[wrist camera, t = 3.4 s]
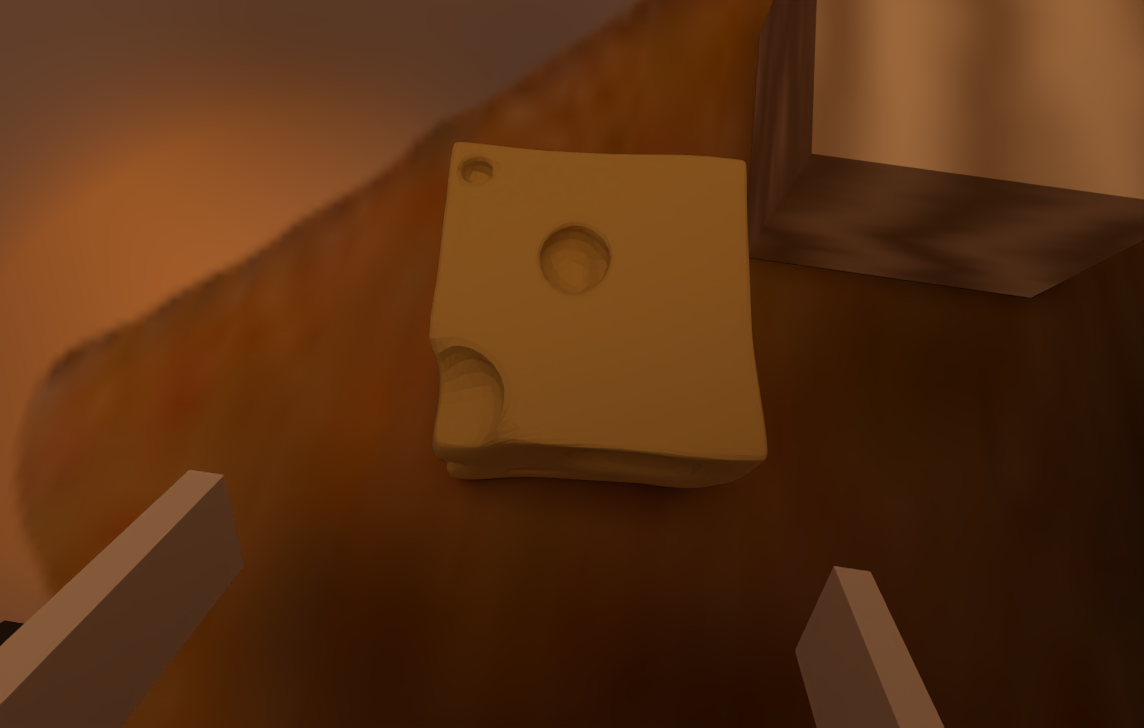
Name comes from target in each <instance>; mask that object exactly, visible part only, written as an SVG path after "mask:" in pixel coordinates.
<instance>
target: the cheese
mask: <svg viewBox="0 0 1144 728" xmlns="http://www.w3.org/2000/svg"><path fill="white" fill-rule="evenodd" d="M429 338H430V342H431V345H432V349H433V352H434V355H435V357H436V360H437V362H438V368H439V375H440V390H439V402H438V409H437V415H436V420H435V426H434V432H433V441H432V449H433V452H434V454H435V455H436V456H437V457H438V458H439V459H441V460H443V461H447V471H448V474H449V475H450V476H452V477H454V478H458V479H490V478H506V477H547V478H562V479H578V480H595V481H611V482H628V483H641V484H649V485H656V486H664V487H675V488H700V487H707V486H714V485H721V484H726V483H730V482H733V481H735V480H738V479H740V478H742V477H744V476H745V475H746V474H748V473H749V472H751V471H752V470H754V469H755V468H756V467H758V466H759V465H760V464H761V462H763V461H764V460H765V458H766V456H767V440H766V431H765V423H764V415H763V408H762V402H761V395H760V389H759V382H758V376H757V369H756V362H755V355H754V347H753V338H752V324H751V301H750V274H749V248H748V223H747V178H746V163H745V161H743V160H738V159H726V158H719V157H709V156H692V155H635V154H594V153H571V152H555V151H541V150H531V149H521V148H512V147H503V146H495V145H486V144H477V143H465V142H457V143H455V144H454V146H453V149H452V156H451V163H450V170H449V178H448V188H447V198H446V206H445V214H444V222H443V230H442V239H441V248H440V257H439V266H438V274H437V281H436V287H435V292H434V298H433V304H432V311H431V318H430V336H429Z"/></svg>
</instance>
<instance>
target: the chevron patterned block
mask: <svg viewBox="0 0 1144 728" xmlns="http://www.w3.org/2000/svg"><path fill="white" fill-rule="evenodd" d="M747 223H748V248H749V258H755V259H762V260H769V261H776V262H783V263H790V264H797V265H804V266H811V267H818V268H825V269H832V270H839V271H847V272H854V273H861V274H868V275H875V276H882V277H889V278H896V279H903V280H910V281H917V282H924V283H931V284H938V285H945V286H952V287H959V288H966V289H973V290H980V291H987V292H994V293H1001V294H1008V295H1015V296H1022V297H1029V298H1031V297H1033V296H1035V295H1037V294H1039V293H1041V292H1043V291H1045V290H1047V289H1049V288H1051V287H1053V286H1055V285H1057V284H1059V283H1061V282H1063V281H1065V280H1067V279H1068V278H1070V277H1072V276H1074V275H1076V274H1078V273H1080V272H1082V271H1084V270H1086V269H1088V268H1090V267H1092V266H1094V265H1096V264H1098V263H1100V262H1102V261H1104V260H1106V259H1107V258H1109V257H1111V256H1113V255H1115V254H1117V253H1119V252H1121V251H1123V250H1125V249H1127V248H1129V247H1131V246H1133V245H1135V244H1137V243H1139V242H1141V241H1143V240H1144V0H773V2H772V5H771V7H770V10H769V12H768V15H767V17H766V20H765V23H764V25H763V28H762V30H761V33H760V37H759V52H758V66H757V81H756V95H755V110H754V124H753V139H752V153H751V168H750V182H749V197H748V211H747Z"/></svg>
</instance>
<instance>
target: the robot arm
mask: <svg viewBox="0 0 1144 728" xmlns="http://www.w3.org/2000/svg"><path fill="white" fill-rule="evenodd" d="M242 568H243V562H242V557H241V553H240V548H239V543H238V538H237V534H236V529H235V524H234V519H233V515H232V510H231V505H230V501H229V496H228V491H227V486H226V482H225V477H224V475H220V474H214V473H207V472H200V471H194V470H189V471H188V472H187V473H185V474H184V475H183V476H182V477H181V478H180V479H179V480H178V481H177V482H176V483H175V484H174V485H173V486H172V487H170V488H169V489H168V490H167V491H166V492H165V493H164V494H163V495H162V496H161V497H160V498H159V499H158V500H157V501H155V502H154V503H153V504H152V505H151V506H150V507H149V508H148V509H147V510H146V511H145V512H144V513H143V514H141V515H140V516H139V517H138V518H137V519H136V520H135V521H134V522H133V523H132V524H131V525H130V526H129V527H128V528H126V529H125V530H124V531H123V532H122V533H121V534H120V535H119V536H118V537H117V538H116V539H115V540H114V541H113V542H111V543H110V544H109V545H108V546H107V547H106V548H105V549H104V550H103V551H102V552H101V553H100V554H99V555H98V556H96V557H95V558H94V559H93V560H92V561H91V562H90V563H89V564H88V565H87V566H86V567H85V568H84V569H82V570H81V571H80V572H79V573H78V574H77V575H76V576H75V577H74V578H73V579H72V580H71V581H70V582H69V583H67V584H66V585H65V586H64V587H63V588H62V589H61V590H60V591H59V592H58V593H57V594H56V595H55V596H54V597H52V598H51V599H50V600H49V601H48V602H47V603H46V604H45V605H44V606H43V607H42V608H41V609H40V610H39V611H37V612H36V613H35V614H34V615H33V616H32V617H31V618H30V619H29V620H28V621H27V622H26V623H25V624H23V623H17V622H10V621H3V622H1V623H0V728H121V726H122V725H123V724H124V723H125V721H126V720H127V719H128V717H129V716H130V715H131V713H132V712H133V711H134V709H135V708H136V707H137V705H138V704H139V703H140V702H141V700H142V699H143V698H144V696H145V695H146V694H147V692H148V691H149V690H150V688H151V687H152V686H153V684H154V683H155V682H156V680H157V679H158V678H159V677H160V675H161V674H162V673H163V671H164V670H165V669H166V667H167V666H168V665H169V663H170V662H171V661H172V659H173V658H174V657H175V656H176V654H177V653H178V652H179V650H180V649H181V648H182V646H183V645H184V644H185V642H186V641H187V640H188V638H189V637H190V636H191V635H192V633H193V632H194V631H195V629H196V628H197V627H198V625H199V624H200V623H201V621H202V620H203V619H204V617H205V616H206V615H207V613H208V612H209V611H210V610H211V608H212V607H213V606H214V604H215V603H216V602H217V600H218V599H219V598H220V596H221V595H222V594H223V592H224V591H225V590H226V589H227V587H228V586H229V585H230V583H231V582H232V581H233V579H234V578H235V577H236V575H237V574H238V573H239V571H240V570H241V569H242ZM795 652H796V656H797V659H798V663H799V666H800V670H801V673H802V677H803V680H804V684H805V687H806V691H807V694H808V698H809V701H810V705H811V709H812V712H813V716H814V719H815V723H816V726H817V728H944V726H943V724H942V722H941V720H940V717H939V715H938V713H937V711H936V709H935V707H934V705H933V703H932V701H931V698H930V696H929V694H928V692H927V690H926V688H925V686H924V684H923V682H922V679H921V677H920V675H919V673H918V671H917V669H916V667H915V665H914V663H913V661H912V658H911V656H910V654H909V652H908V650H907V648H906V646H905V644H904V642H903V639H902V637H901V635H900V633H899V631H898V629H897V627H896V625H895V623H894V620H893V618H892V616H891V614H890V612H889V610H888V608H887V606H886V604H885V601H884V599H883V597H882V595H881V593H880V591H879V589H878V587H877V585H876V583H875V580H874V578H873V576H872V574H871V572H870V571H863V570H857V569H850V568H843V567H836V566H834V567H833V569H832V571H831V573H830V576H829V578H828V580H827V582H826V584H825V586H824V589H823V591H822V593H821V595H820V597H819V600H818V602H817V604H816V606H815V608H814V610H813V613H812V615H811V617H810V619H809V621H808V623H807V626H806V628H805V630H804V632H803V634H802V637H801V639H800V641H799V643H798V645H797V647H796V650H795Z"/></svg>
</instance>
